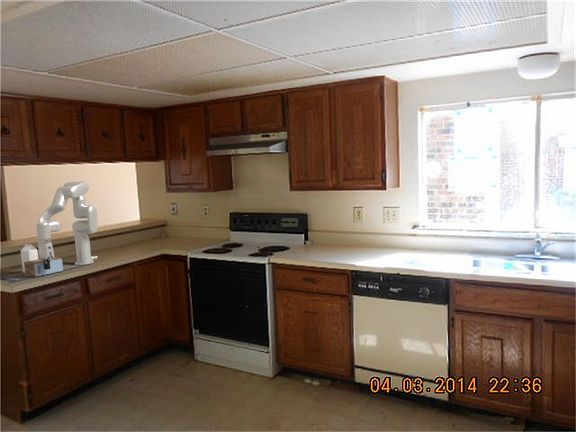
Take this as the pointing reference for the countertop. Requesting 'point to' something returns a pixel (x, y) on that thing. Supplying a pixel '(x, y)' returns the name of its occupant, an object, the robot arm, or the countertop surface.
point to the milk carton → (28, 254)
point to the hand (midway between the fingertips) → (47, 269)
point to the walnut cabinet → (31, 269)
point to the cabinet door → (54, 267)
